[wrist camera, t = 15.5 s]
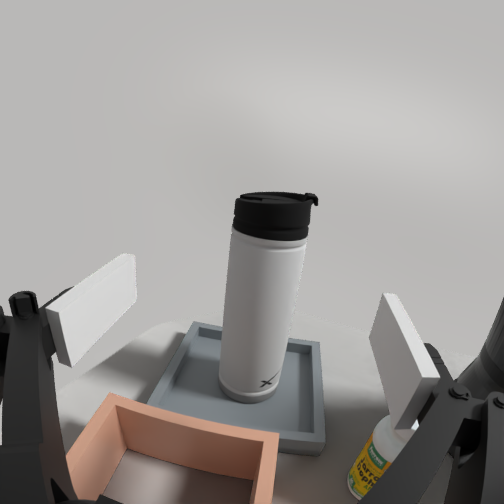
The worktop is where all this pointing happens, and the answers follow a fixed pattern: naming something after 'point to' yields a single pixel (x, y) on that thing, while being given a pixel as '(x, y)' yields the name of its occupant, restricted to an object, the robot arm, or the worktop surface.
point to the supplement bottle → (377, 456)
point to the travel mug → (261, 290)
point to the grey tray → (239, 413)
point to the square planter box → (169, 447)
